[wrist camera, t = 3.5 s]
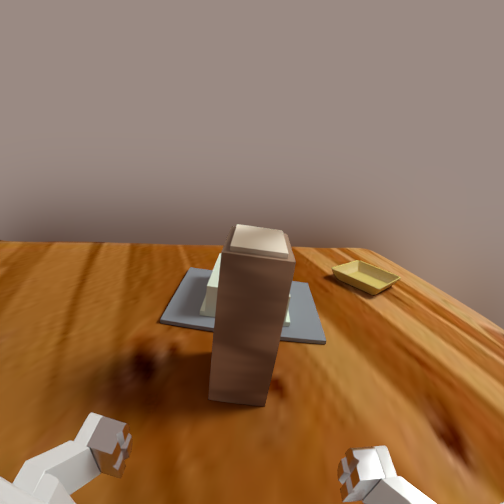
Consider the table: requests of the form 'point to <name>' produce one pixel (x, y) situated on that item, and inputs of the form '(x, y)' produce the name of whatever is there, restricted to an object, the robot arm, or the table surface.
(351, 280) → the yellow square tray
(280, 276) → the tall wooden pillar
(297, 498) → the table surface
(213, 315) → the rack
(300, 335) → the mat
